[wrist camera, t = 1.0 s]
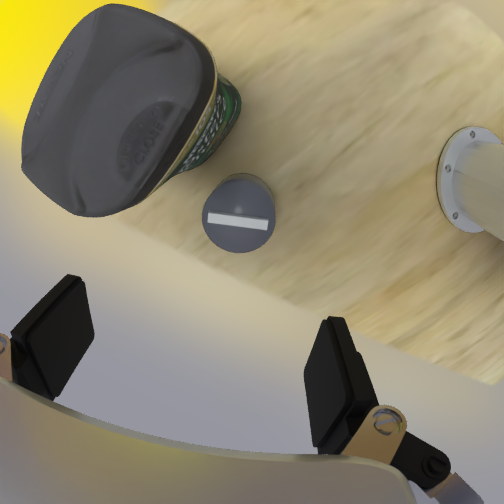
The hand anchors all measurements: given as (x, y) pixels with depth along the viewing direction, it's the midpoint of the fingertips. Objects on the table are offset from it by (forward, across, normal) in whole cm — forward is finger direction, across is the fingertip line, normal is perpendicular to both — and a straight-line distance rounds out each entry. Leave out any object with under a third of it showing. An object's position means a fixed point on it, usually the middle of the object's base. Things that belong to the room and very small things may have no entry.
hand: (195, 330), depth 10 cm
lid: (+19, -1, 0) cm, 19 cm away
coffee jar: (+20, +5, -8) cm, 22 cm away
